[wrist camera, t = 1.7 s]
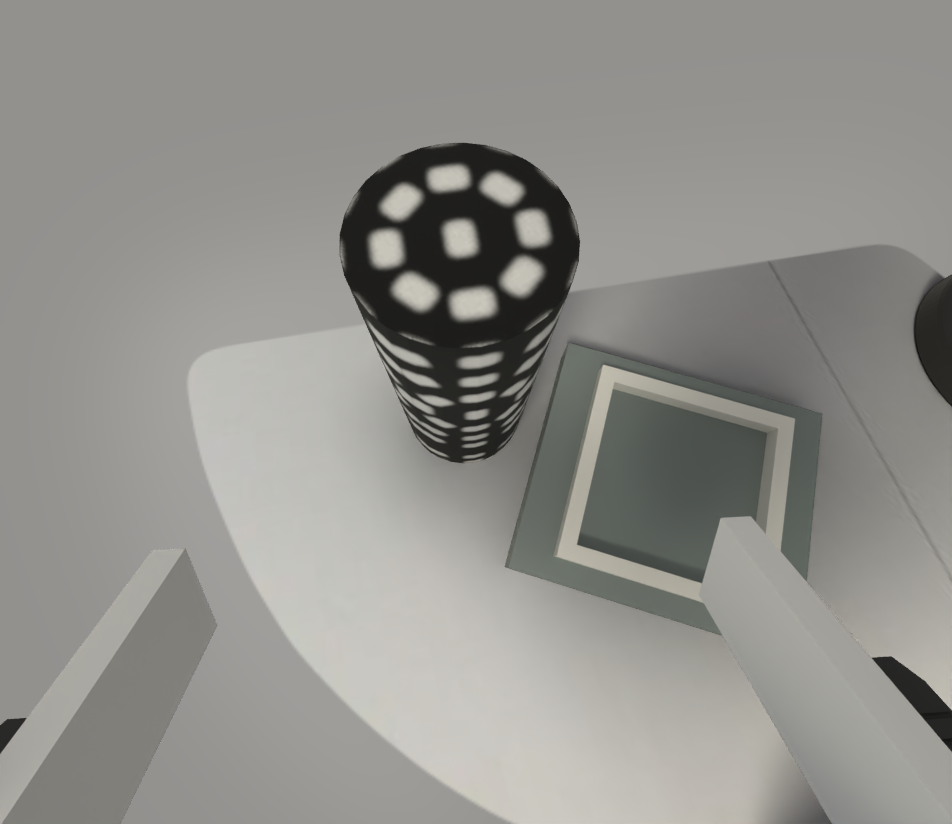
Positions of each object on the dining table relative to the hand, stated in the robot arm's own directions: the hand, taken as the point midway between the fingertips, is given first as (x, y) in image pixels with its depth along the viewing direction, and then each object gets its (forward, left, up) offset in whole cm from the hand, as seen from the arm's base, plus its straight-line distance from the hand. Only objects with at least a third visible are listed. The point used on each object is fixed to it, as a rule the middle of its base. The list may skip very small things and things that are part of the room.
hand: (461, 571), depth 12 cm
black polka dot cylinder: (+3, -10, -21) cm, 24 cm away
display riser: (-12, -8, -21) cm, 26 cm away
